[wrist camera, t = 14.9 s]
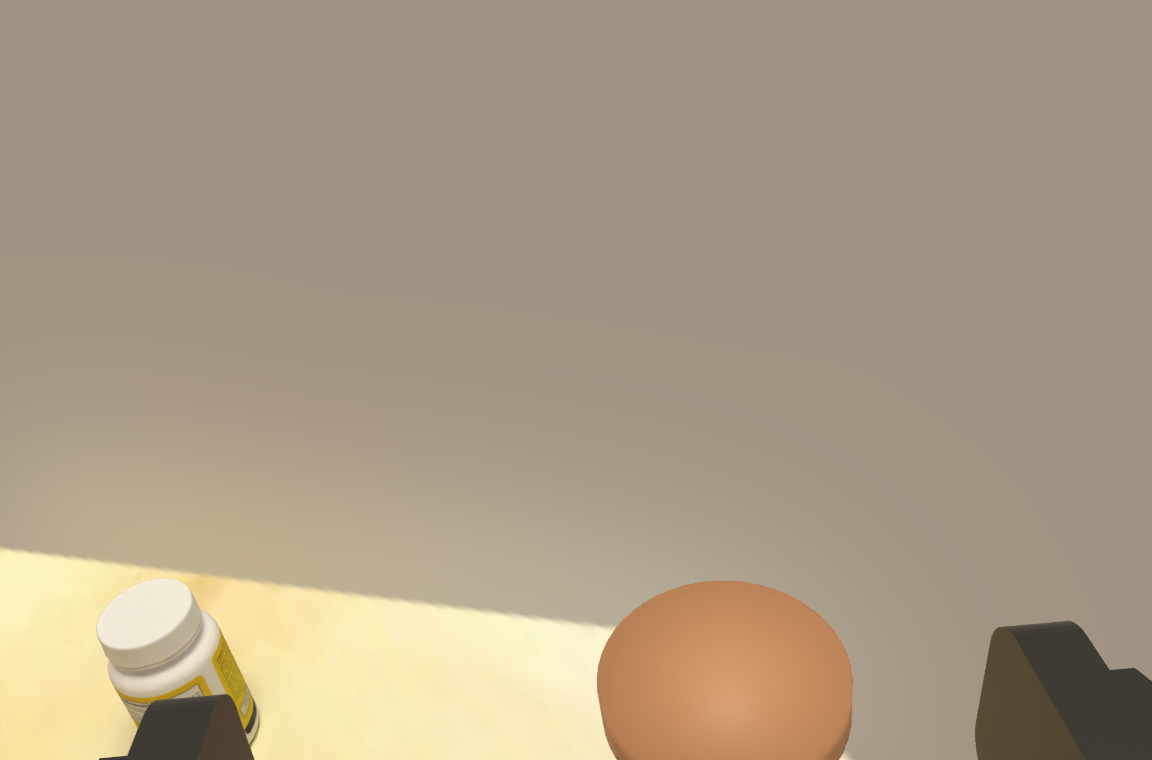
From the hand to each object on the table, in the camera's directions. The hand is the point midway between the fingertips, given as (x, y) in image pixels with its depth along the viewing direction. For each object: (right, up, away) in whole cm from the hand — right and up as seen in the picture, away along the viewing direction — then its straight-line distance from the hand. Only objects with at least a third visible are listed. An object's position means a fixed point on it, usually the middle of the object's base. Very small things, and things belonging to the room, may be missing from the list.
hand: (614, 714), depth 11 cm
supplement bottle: (-17, -13, +37) cm, 43 cm away
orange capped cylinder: (+5, -18, +25) cm, 31 cm away
